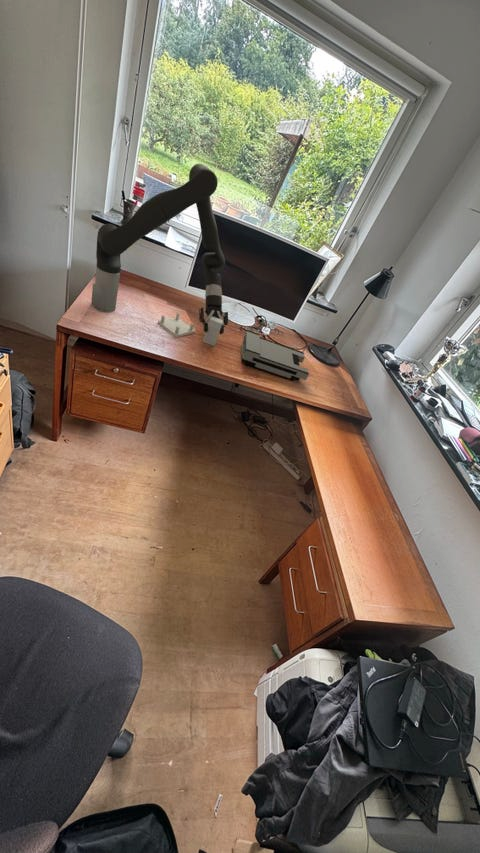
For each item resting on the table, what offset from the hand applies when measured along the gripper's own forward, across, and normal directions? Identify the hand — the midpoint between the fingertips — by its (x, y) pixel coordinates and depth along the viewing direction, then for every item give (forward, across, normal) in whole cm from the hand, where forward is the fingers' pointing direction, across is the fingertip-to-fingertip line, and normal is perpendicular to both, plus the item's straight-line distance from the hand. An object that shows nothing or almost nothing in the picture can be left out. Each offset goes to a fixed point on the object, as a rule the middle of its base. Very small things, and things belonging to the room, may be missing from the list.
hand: (213, 333), depth 157 cm
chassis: (-3, -14, +12) cm, 19 cm away
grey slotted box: (+13, +29, -4) cm, 32 cm away
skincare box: (+3, 0, +6) cm, 6 cm away
